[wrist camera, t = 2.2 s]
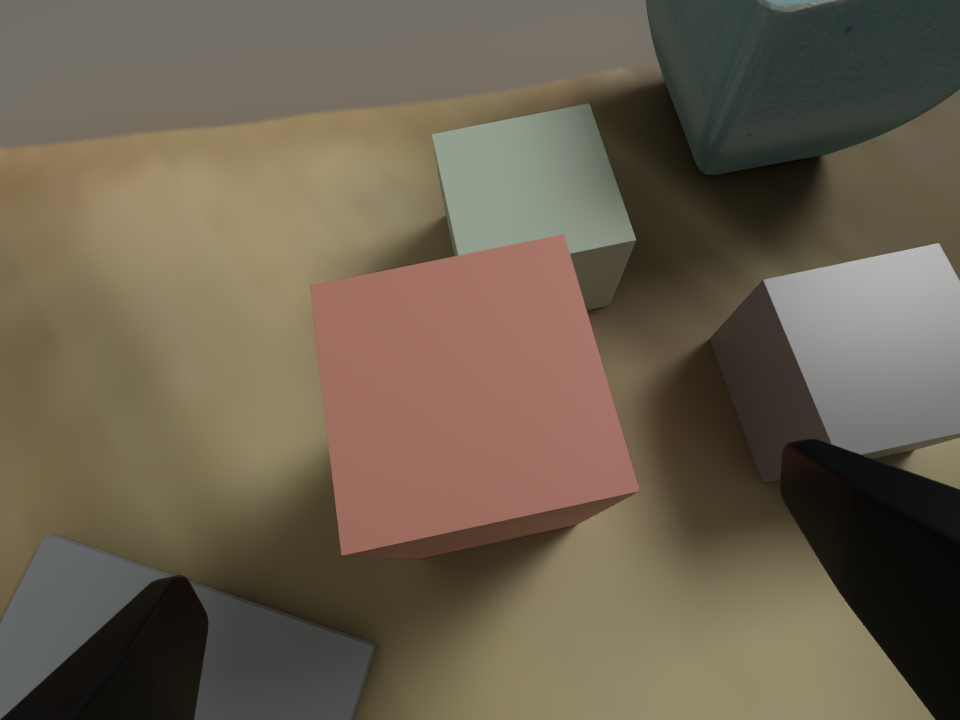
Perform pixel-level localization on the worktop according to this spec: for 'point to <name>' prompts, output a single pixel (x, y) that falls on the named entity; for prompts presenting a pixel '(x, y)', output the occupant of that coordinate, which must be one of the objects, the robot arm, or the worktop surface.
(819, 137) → the flower pot
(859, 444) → the light gray block
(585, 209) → the sage block
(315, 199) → the worktop surface
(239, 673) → the slate mat
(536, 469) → the brick-red block
